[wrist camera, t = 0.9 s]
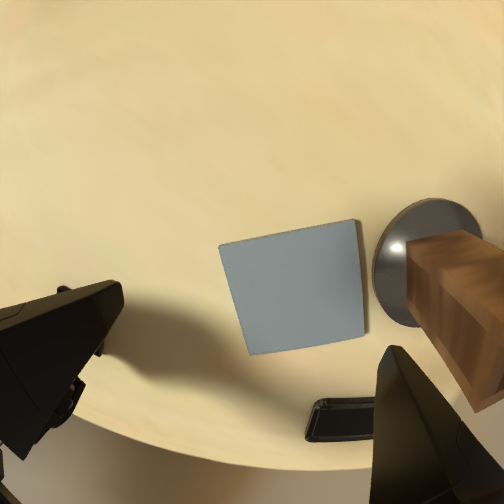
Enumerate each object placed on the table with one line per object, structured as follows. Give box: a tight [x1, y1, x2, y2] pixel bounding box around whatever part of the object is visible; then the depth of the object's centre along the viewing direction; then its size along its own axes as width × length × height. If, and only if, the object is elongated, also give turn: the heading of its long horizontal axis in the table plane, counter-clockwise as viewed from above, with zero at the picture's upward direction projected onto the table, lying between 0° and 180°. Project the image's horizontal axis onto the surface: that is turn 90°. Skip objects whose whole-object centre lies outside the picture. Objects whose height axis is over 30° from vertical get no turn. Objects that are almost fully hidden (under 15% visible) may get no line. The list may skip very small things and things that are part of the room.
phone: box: [305, 397, 375, 442], centre depth 26 cm, size 8×1×15 cm
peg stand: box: [372, 198, 482, 328], centre depth 18 cm, size 11×11×4 cm
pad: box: [218, 219, 364, 356], centre depth 21 cm, size 10×10×1 cm
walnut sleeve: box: [406, 229, 504, 413], centre depth 13 cm, size 6×6×12 cm
